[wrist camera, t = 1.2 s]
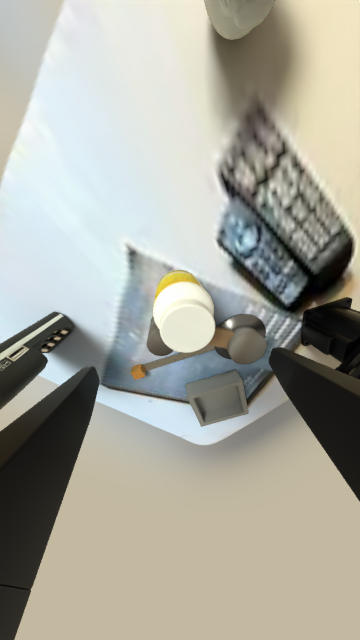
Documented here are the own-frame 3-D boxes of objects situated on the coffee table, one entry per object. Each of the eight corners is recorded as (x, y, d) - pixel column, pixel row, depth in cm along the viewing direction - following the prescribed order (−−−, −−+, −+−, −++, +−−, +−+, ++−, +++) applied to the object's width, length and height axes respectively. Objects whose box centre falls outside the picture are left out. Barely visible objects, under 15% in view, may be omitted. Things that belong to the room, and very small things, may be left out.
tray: (235, 369, 26) (242, 380, 24) (242, 401, 31) (248, 413, 28) (185, 384, 27) (187, 396, 25) (198, 413, 31) (201, 426, 29)
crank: (263, 329, 22) (287, 351, 18) (247, 355, 24) (265, 381, 20) (155, 302, 19) (152, 320, 15) (147, 335, 21) (142, 360, 17)
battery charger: (53, 355, 22) (-42, 451, 12) (26, 339, 21) (-109, 432, 10) (84, 328, 21) (5, 410, 10) (57, 308, 19) (-66, 381, 9)
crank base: (262, 306, 21) (267, 309, 20) (265, 349, 25) (270, 354, 24) (122, 352, 23) (120, 357, 22) (144, 386, 26) (143, 392, 25)
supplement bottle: (147, 290, 19) (132, 330, 10) (179, 259, 18) (193, 274, 9) (176, 318, 21) (184, 371, 12) (207, 292, 20) (240, 330, 11)
